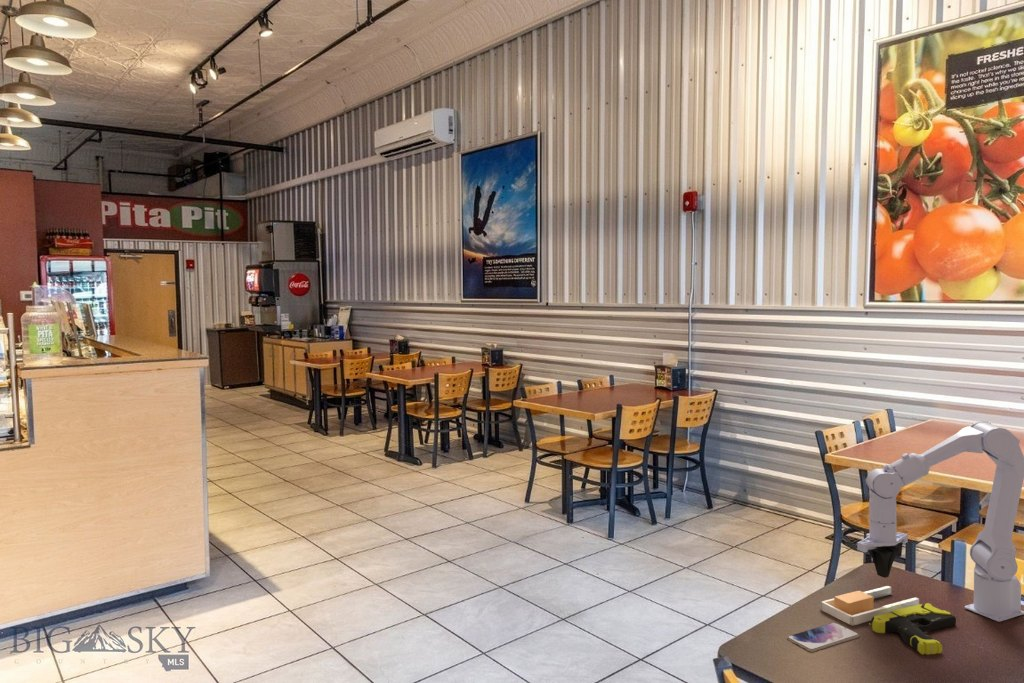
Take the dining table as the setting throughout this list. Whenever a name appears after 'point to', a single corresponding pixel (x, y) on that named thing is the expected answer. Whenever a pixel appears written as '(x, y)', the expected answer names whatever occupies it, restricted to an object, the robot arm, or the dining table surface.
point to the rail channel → (898, 605)
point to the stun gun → (915, 625)
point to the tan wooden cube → (848, 604)
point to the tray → (849, 619)
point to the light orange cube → (864, 600)
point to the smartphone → (822, 637)
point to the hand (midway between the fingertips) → (882, 575)
